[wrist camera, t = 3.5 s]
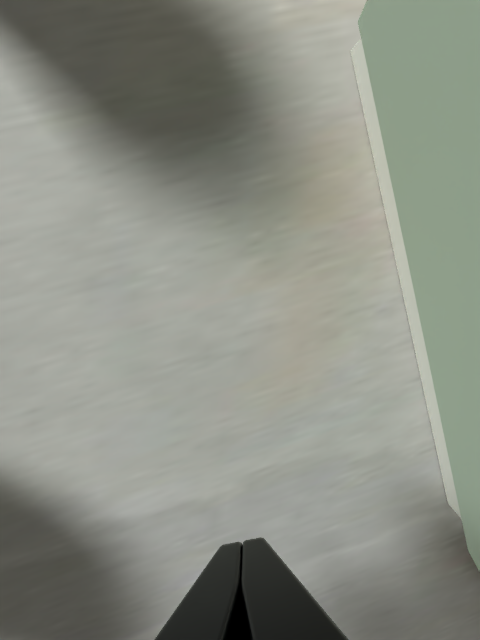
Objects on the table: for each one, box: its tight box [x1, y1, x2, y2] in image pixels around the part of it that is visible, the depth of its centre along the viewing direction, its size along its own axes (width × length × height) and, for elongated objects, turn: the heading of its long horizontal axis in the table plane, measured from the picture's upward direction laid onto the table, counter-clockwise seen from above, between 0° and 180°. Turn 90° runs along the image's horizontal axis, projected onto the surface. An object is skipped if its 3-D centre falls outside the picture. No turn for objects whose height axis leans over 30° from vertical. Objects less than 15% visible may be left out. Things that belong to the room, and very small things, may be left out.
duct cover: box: [358, 0, 480, 572], centre depth 12 cm, size 10×22×2 cm
